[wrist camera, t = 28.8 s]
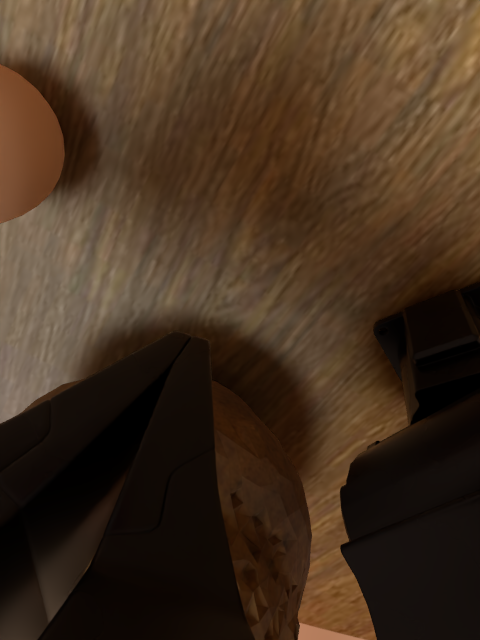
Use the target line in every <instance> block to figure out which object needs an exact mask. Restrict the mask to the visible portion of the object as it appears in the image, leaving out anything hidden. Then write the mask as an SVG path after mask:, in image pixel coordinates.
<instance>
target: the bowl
mask: <svg viewBox="0 0 480 640" xmlns="http://www.w3.org/2000/svg"><path fill="white" fill-rule="evenodd" d="M82 380H84V379H82ZM82 380H79V381H76V382H71V383H67V384H63V385H61V386H59V387H58V388H56V389H54V390H53V391H51V392H49V393H47V394H46V395H44V396H42V397H40V398H39V399H37V400H35V401H34V402H33V403H32V404H31V405H30V406H28V407H27V408H26V409H25V410H24V411H23V412H25V411H27V410H29V409H31V408H32V407H34V406H36V405H38V404H40V403H42V402H43V401H45V400H50V399H51V397H53V396H55V395H57V394H58V393H60V392H62V391H64V390H66V389H68V388H70V387H71V386H73V385H75V384H77V383H79V382H81V381H82ZM212 394H213V414H214V434H215V452H216V468H217V479H218V490H219V496H220V502H221V508H222V514H223V519H224V524H225V528H226V533H227V538H228V543H229V548H230V553H231V557H232V562H233V567H234V572H235V577H236V581H237V585H238V590H239V594H240V597H241V601H242V605H243V608H244V611H245V615H246V618H247V621H248V624H249V626H250V628H251V630H252V633H253V635H254V637H255V639H256V640H298V634H299V627H300V625H299V622H298V618H297V617H298V611H299V608H300V604H301V600H302V596H303V591H304V588H305V584H306V580H307V575H308V571H309V567H310V547H311V539H312V533H311V525H310V517H309V512H308V507H307V503H306V498H305V493H304V489H303V485H302V483H301V480H300V477H299V475H298V473H297V471H296V469H295V467H294V465H293V464H292V462H291V461H290V459H289V458H288V456H287V455H286V453H285V452H284V450H283V448H282V446H281V444H280V442H279V440H278V439H277V437H276V436H275V435H274V434H273V433H272V432H271V431H270V430H269V429H268V428H267V427H266V426H265V424H264V423H263V422H262V421H261V420H260V419H259V418H258V417H257V416H256V414H255V413H254V412H253V411H252V410H251V408H250V407H249V406H248V405H247V404H246V403H245V402H244V401H243V400H242V399H241V398H240V397H239V396H238V395H236V394H235V393H233V392H232V391H231V390H229V389H228V388H226V387H224V386H223V385H221V384H219V383H218V382H216V381H213V380H212ZM23 412H21V413H23ZM21 413H20V414H21ZM93 557H94V556H93ZM92 559H93V558H92ZM91 561H92V560H91ZM90 563H91V562H90ZM89 565H90V564H89ZM89 565H88V567H89ZM88 567H87V569H88ZM87 569H86V570H87ZM85 572H86V571H85Z"/></svg>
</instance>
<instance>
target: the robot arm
mask: <svg viewBox="0 0 480 640" xmlns="http://www.w3.org/2000/svg"><path fill="white" fill-rule="evenodd" d="M380 328H387V330H386V331H380V330H379V329H380ZM373 331H374V335H375V337H376V338H377V340H378V342H379V344H380V345H381V347H382V349H383V350H384V352H385V354H386V356H387V357H388V359H389V361H390V362H391V364H392V366H393V368H394V369H395V371H396V373H397V374H398V376H399V378H400V380H401V381H402V384H403V390H404V397H405V404H406V411H407V417H408V424H409V426H408V427H406V428H404V429H403V430H401V431H399V432H397V433H395V434H393V435H392V436H390V437H388V438H386V439H384V440H383V441H381V442H379V441H376V442H374V443H372V444H371V445H369V446H368V448H367V450H366V451H364V452H362V453H360V454H359V455H358V456H357V457H356V458H355V459H354V461H353V462H352V463H351V464H350V469H349V473H348V477H347V481H346V485H344V486H342V487H341V489H340V500H341V511H342V516H343V520H344V524H345V529H346V532H347V535H348V538H349V542H347V543H344V544H342V545H341V548H340V549H341V553H342V555H343V556H344V558H345V560H346V562H347V563H348V565H349V567H350V568H351V570H352V572H353V574H354V575H355V577H356V579H357V581H358V584H359V586H360V588H361V591H362V593H363V596H364V598H365V600H366V603H367V605H368V608H369V612H370V615H371V619H372V622H373V625H374V629H375V633H376V637H377V640H480V282H478V283H476V284H473V285H470V286H468V287H465V288H463V289H460V290H457V291H456V290H452V291H449V292H447V293H444V294H441V295H439V296H436V297H434V298H431V299H428V300H426V301H423V302H421V303H418V304H415V305H413V306H410V307H408V308H406V309H405V310H404V311H402V312H400V313H397V314H395V315H392V316H389V317H387V318H384V319H381V320H379V321H377V322H376V323H375V324H374V327H373ZM93 556H94V557H93ZM92 558H93V559H92ZM91 560H92V561H91ZM90 562H91V563H90ZM89 564H90V565H89ZM88 565H89V567H88ZM87 567H88V569H87ZM86 569H87V570H86ZM85 571H86V572H85ZM0 640H256V639H255V637H254V635H253V633H252V630H251V628H250V626H249V624H248V621H247V618H246V615H245V611H244V608H243V605H242V601H241V597H240V594H239V590H238V585H237V581H236V577H235V572H234V567H233V562H232V557H231V553H230V548H229V543H228V538H227V533H226V528H225V524H224V519H223V514H222V508H221V502H220V496H219V490H218V479H217V468H216V452H215V434H214V414H213V394H212V375H211V355H210V341H209V340H208V339H204V338H201V337H197V336H193V337H191V335H190V334H186V333H183V332H179V331H173V332H171V333H169V334H167V335H165V336H164V337H162V338H160V339H158V340H156V341H154V342H152V343H151V344H149V345H147V346H145V347H143V348H141V349H140V350H138V351H136V352H134V353H132V354H130V355H129V356H127V357H125V358H123V359H121V360H119V361H117V362H116V363H114V364H112V365H110V366H108V367H106V368H105V369H103V370H101V371H99V372H97V373H95V374H93V375H92V376H90V377H88V378H86V379H84V380H82V381H81V382H79V383H77V384H75V385H73V386H71V387H70V388H68V389H66V390H64V391H62V392H60V393H58V394H57V395H55V396H53V397H51V399H50V400H45V401H43V402H42V403H40V404H38V405H36V406H34V407H32V408H31V409H29V410H27V411H25V412H23V413H21V414H19V415H17V416H15V417H13V418H11V419H9V420H7V421H5V422H3V423H1V424H0Z"/></svg>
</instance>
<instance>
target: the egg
mask: <svg viewBox="0 0 480 640" xmlns="http://www.w3.org/2000/svg"><path fill="white" fill-rule="evenodd" d="M64 157H65V152H64V137H63V134H62V131H61V128H60V125H59V122H58V119H57V117H56V115H55V114H54V112H53V110H52V109H51V107H50V105H49V104H48V102H47V101H46V100H45V99H44V97H43V96H42V95H41V94H40V92H39V91H38V90H37V89H36V88H35V87H34V86H33V85H32V84H30V83H29V82H28V81H27V80H26V79H24V78H23V77H22V76H21V75H20V74H18V73H16V72H14V71H13V70H11V69H9V68H7V67H5V66H3V65H1V64H0V223H4V222H6V221H9V220H11V219H14V218H16V217H19V216H22V215H24V214H25V213H27V212H28V211H30V210H32V209H33V208H35V207H37V206H38V205H39V204H40V203H41V202H42V201H43V200H44V199H45V198H46V197H47V196H48V195H49V194H50V193H51V192H52V191H53V189H54V187H55V185H56V183H57V182H58V180H59V177H60V175H61V172H62V169H63V163H64Z"/></svg>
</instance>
